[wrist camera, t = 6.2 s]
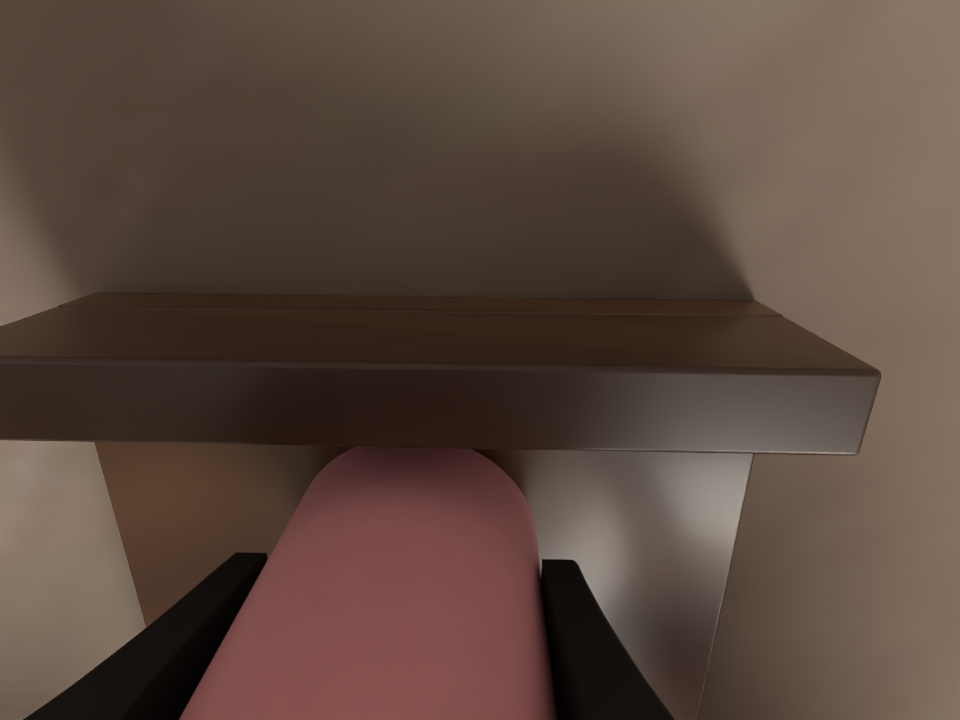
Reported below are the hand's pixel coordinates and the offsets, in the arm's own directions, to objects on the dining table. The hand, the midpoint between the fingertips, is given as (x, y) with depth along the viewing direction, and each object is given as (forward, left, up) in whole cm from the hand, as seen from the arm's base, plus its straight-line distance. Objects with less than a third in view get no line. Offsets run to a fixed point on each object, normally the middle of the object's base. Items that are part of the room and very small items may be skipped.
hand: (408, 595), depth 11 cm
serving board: (-2, 0, -4) cm, 4 cm away
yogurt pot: (0, 0, -2) cm, 2 cm away
